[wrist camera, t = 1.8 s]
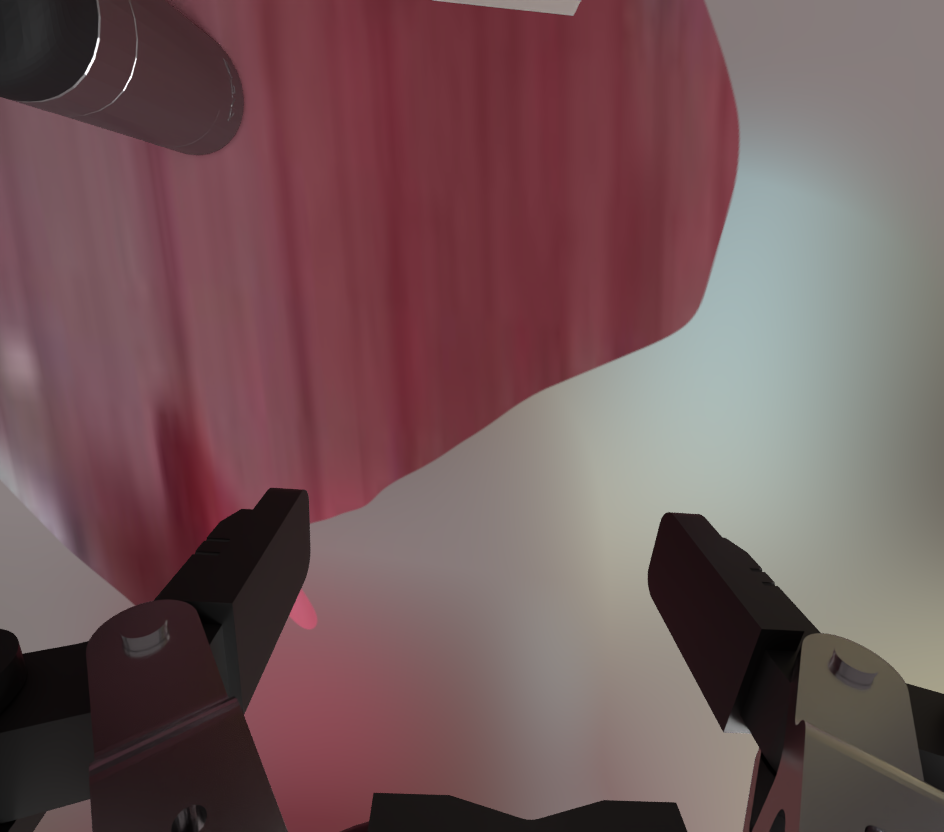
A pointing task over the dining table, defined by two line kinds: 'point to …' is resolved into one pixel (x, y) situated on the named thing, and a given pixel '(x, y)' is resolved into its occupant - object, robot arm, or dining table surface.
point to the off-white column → (527, 5)
